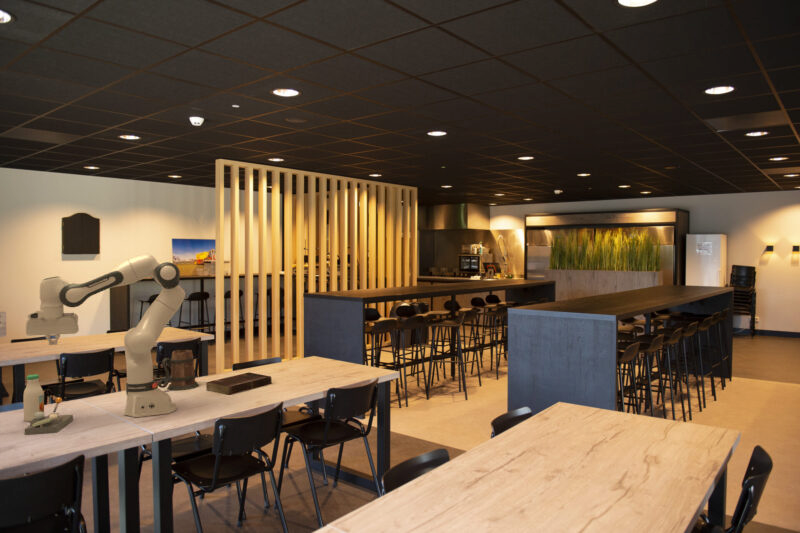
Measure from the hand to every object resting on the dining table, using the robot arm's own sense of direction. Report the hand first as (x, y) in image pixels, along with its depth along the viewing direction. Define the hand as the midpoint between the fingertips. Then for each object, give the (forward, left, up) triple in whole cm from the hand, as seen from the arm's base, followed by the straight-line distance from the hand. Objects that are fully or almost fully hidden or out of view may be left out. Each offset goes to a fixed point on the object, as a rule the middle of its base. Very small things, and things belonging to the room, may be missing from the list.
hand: (53, 344), depth 250 cm
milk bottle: (+11, -6, -34) cm, 37 cm away
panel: (-1, +9, -34) cm, 35 cm away
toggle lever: (-1, +5, -30) cm, 30 cm away
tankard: (-42, -52, -34) cm, 75 cm away
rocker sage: (-1, +16, -30) cm, 34 cm away
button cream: (-4, +11, -31) cm, 33 cm away
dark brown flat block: (-75, -45, -35) cm, 94 cm away
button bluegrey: (+2, +11, -29) cm, 32 cm away
